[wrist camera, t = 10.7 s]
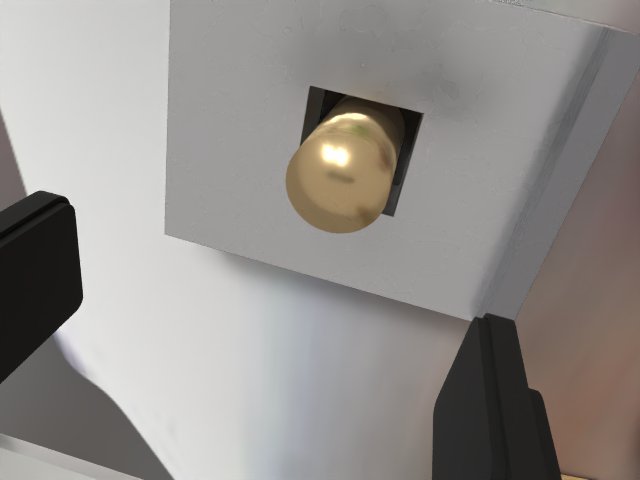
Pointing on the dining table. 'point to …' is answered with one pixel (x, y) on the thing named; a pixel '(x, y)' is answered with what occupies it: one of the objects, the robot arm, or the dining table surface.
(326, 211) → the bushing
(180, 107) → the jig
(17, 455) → the robot arm
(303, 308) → the dining table surface
